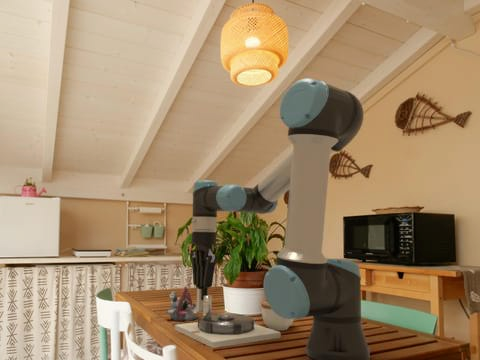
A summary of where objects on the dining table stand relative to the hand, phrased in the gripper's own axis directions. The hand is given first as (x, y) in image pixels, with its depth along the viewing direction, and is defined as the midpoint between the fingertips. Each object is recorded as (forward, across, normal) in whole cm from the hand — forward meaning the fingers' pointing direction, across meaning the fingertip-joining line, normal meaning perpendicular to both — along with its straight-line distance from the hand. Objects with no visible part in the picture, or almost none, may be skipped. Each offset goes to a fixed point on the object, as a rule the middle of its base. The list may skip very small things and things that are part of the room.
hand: (201, 310), depth 123 cm
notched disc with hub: (+5, +5, +6) cm, 9 cm away
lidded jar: (+7, +7, +24) cm, 26 cm away
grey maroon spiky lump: (+7, -22, +4) cm, 23 cm away
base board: (+6, +5, +6) cm, 10 cm away
